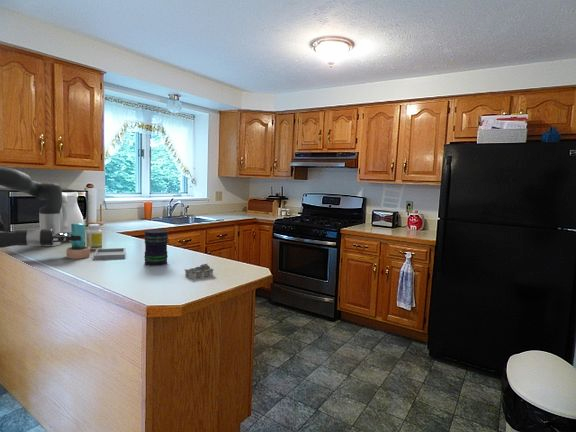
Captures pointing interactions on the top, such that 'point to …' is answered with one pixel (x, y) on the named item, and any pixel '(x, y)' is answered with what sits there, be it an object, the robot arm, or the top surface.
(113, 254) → the tray
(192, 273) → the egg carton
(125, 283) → the top surface
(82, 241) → the bottle
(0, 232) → the robot arm
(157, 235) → the dark blue barrel
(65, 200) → the pitcher
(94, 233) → the supplement bottle
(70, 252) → the peach octagonal bowl
